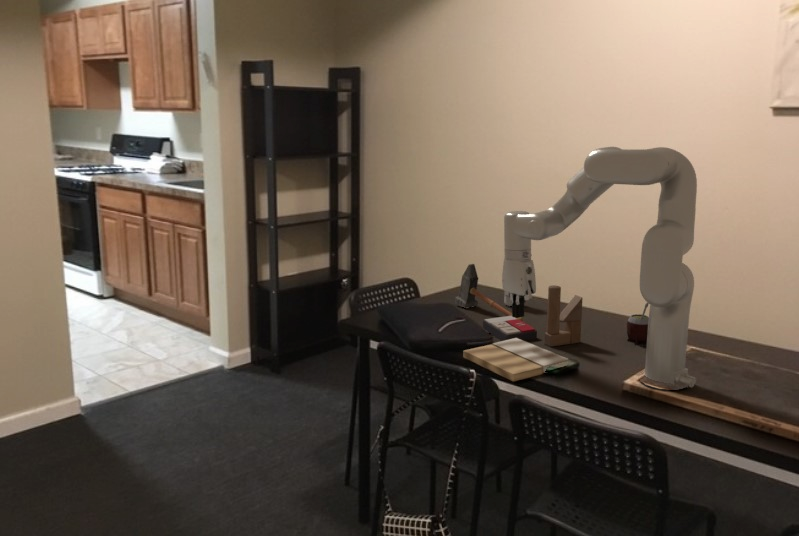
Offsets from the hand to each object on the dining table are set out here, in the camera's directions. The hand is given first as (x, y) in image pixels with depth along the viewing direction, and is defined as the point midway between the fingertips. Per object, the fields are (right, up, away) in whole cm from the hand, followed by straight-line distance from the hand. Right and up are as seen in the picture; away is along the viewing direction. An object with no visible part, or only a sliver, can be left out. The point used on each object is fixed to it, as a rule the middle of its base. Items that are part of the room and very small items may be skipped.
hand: (518, 316), depth 204 cm
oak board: (-6, -13, -10) cm, 17 cm away
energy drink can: (+6, 0, +50) cm, 51 cm away
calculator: (0, -7, +18) cm, 19 cm away
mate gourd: (+38, -9, +8) cm, 40 cm away
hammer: (-3, -2, +40) cm, 40 cm away
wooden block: (+15, -9, +8) cm, 19 cm away
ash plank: (+2, -11, -5) cm, 12 cm away
